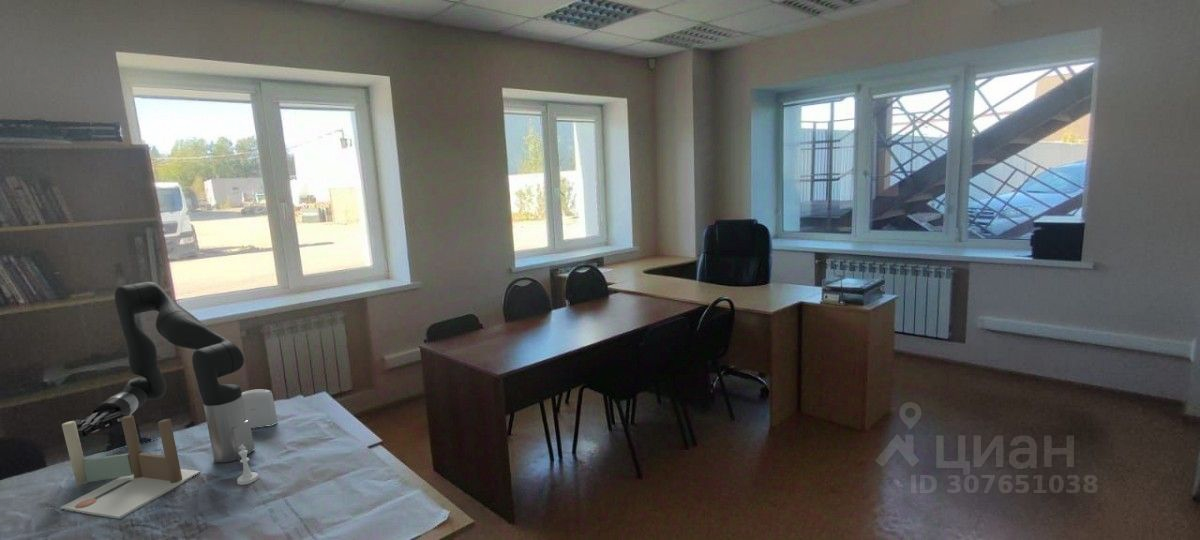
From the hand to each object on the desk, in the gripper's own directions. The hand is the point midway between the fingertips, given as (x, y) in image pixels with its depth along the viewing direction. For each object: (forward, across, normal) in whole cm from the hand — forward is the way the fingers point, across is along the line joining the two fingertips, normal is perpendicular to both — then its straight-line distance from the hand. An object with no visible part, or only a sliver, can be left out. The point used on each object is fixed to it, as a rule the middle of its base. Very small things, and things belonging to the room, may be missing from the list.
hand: (79, 434), depth 149 cm
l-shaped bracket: (+3, +5, +12) cm, 14 cm away
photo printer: (-22, +35, +14) cm, 43 cm away
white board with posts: (+10, +15, +14) cm, 22 cm away
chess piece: (+14, +43, +14) cm, 47 cm away
